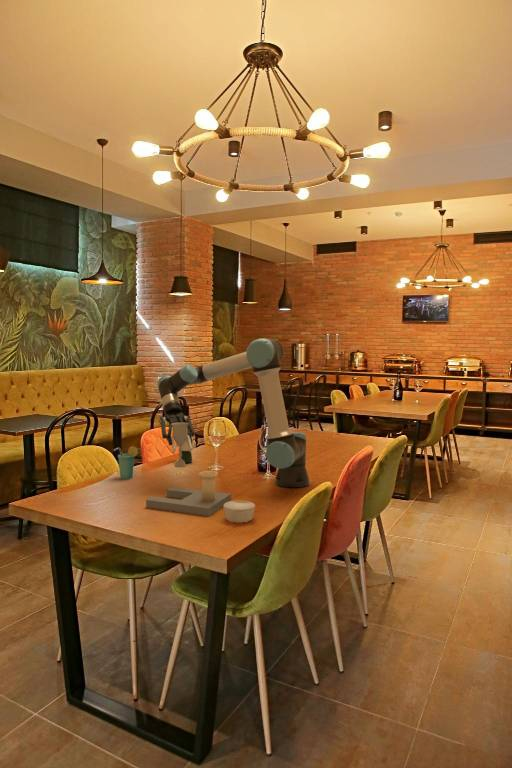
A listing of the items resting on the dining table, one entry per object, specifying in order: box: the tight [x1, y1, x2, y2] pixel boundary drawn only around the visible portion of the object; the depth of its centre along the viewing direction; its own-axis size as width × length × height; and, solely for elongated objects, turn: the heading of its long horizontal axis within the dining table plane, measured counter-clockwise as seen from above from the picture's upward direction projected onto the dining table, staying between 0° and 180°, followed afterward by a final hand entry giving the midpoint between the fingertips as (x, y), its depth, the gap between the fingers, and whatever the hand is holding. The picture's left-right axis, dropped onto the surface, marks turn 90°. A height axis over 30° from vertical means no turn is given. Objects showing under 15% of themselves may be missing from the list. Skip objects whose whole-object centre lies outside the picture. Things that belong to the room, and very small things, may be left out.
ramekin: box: [222, 500, 256, 524], centre depth 195 cm, size 11×11×5 cm
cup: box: [112, 445, 139, 480], centre depth 248 cm, size 14×8×15 cm, turn 149°
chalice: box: [171, 422, 189, 469], centre depth 230 cm, size 7×7×18 cm
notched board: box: [145, 470, 232, 517], centre depth 210 cm, size 26×20×13 cm
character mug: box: [175, 436, 197, 464], centre depth 281 cm, size 11×7×13 cm, turn 71°
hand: (182, 450), depth 227 cm, fingers closed on chalice, 6 cm apart
